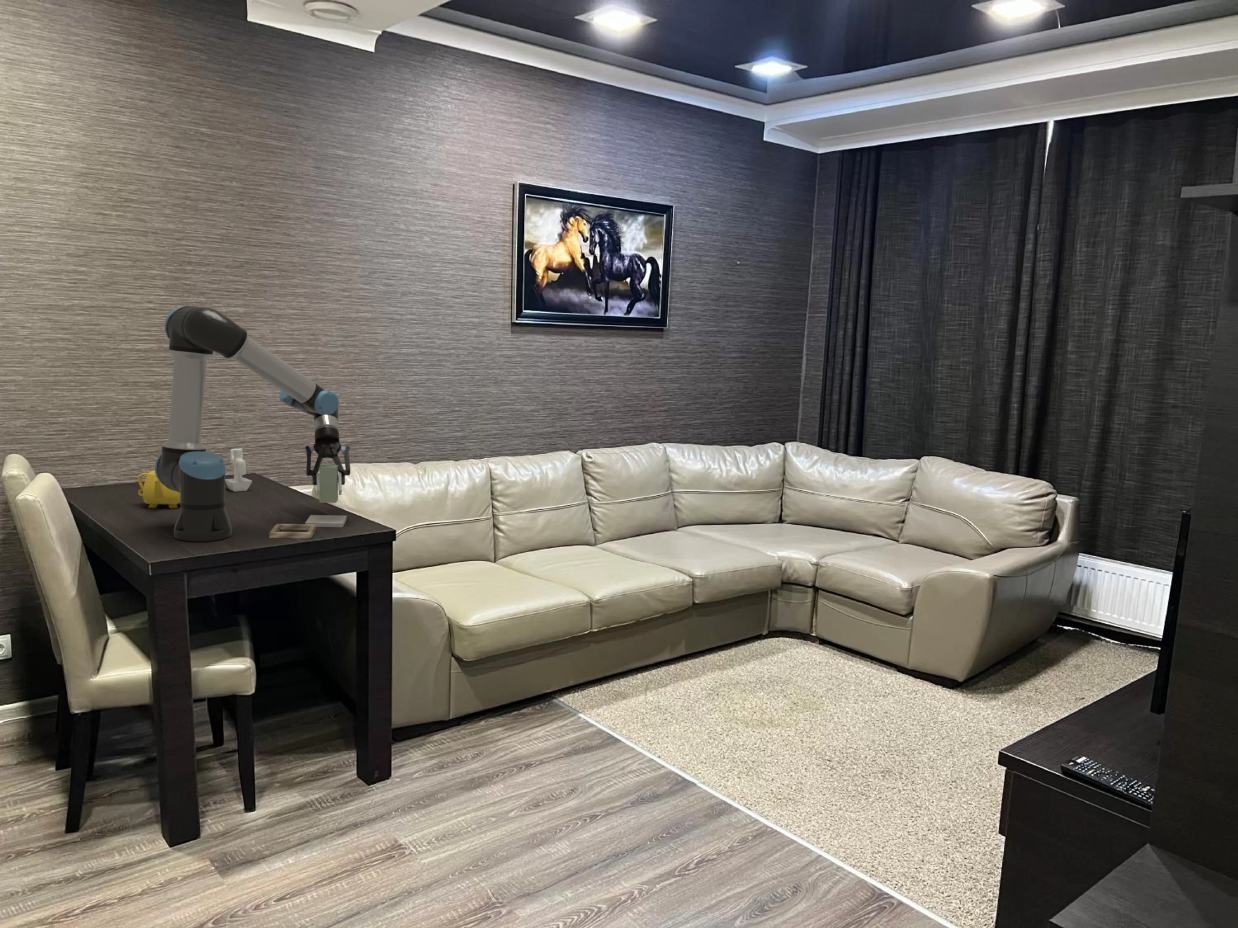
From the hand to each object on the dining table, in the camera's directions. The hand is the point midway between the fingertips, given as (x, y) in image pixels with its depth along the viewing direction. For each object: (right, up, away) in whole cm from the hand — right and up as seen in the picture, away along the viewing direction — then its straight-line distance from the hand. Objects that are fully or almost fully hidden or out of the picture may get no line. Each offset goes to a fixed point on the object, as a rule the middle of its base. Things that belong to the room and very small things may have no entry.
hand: (329, 492), depth 280 cm
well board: (-7, -12, -11) cm, 18 cm away
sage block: (-1, -3, +4) cm, 5 cm away
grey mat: (-2, -10, +4) cm, 11 cm away
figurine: (-47, -1, +46) cm, 66 cm away
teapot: (-57, -5, +16) cm, 59 cm away
